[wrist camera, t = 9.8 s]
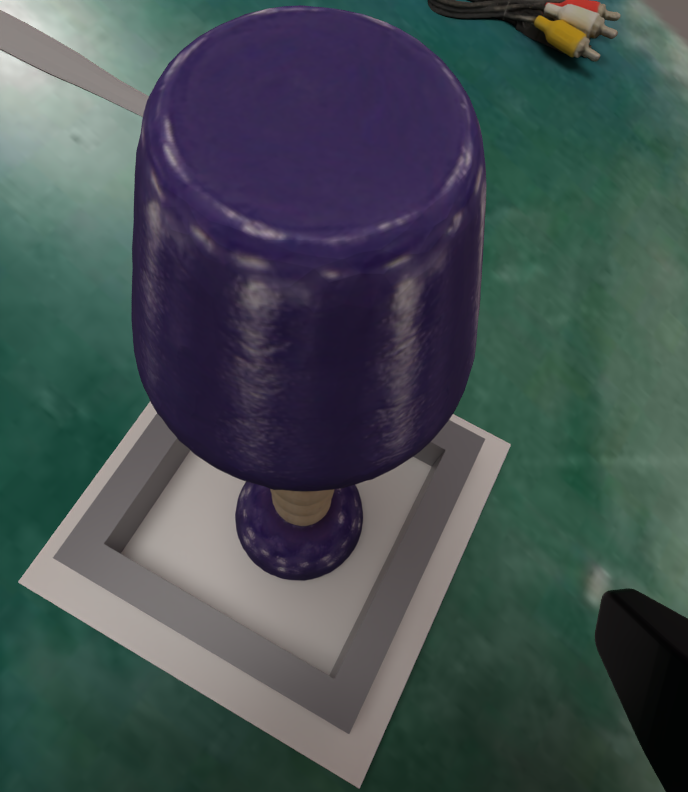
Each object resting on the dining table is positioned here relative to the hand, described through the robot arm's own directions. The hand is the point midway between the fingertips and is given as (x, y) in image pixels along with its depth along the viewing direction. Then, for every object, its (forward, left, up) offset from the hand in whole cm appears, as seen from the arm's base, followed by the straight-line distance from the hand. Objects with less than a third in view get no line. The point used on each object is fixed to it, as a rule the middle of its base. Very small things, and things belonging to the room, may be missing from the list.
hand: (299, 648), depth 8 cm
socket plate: (+2, -4, -12) cm, 13 cm away
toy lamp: (+2, -3, -11) cm, 12 cm away
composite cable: (+5, -33, -13) cm, 35 cm away
